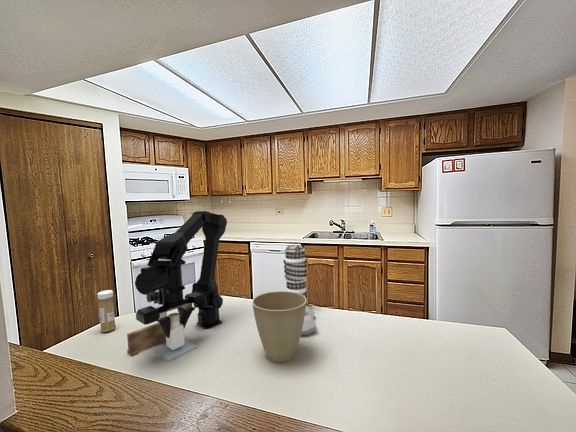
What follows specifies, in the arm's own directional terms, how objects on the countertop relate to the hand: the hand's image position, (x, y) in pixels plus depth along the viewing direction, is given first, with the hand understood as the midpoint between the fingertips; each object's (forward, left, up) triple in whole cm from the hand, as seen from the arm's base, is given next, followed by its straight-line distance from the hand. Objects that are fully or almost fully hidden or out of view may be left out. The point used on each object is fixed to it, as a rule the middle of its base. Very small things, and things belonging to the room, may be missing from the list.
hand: (175, 334), depth 83 cm
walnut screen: (+3, -8, -5) cm, 10 cm away
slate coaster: (0, 0, -5) cm, 5 cm away
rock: (-32, +18, -5) cm, 37 cm away
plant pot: (-16, +27, -5) cm, 32 cm away
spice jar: (+8, -32, -5) cm, 33 cm away
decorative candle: (-45, +10, -5) cm, 46 cm away
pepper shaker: (0, 0, -4) cm, 4 cm away
